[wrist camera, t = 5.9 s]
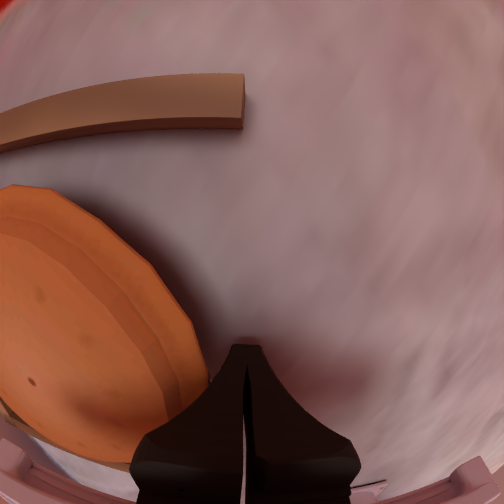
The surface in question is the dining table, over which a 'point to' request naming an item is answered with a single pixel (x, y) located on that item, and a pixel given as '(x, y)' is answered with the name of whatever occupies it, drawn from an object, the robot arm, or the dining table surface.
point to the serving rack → (119, 120)
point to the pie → (87, 330)
